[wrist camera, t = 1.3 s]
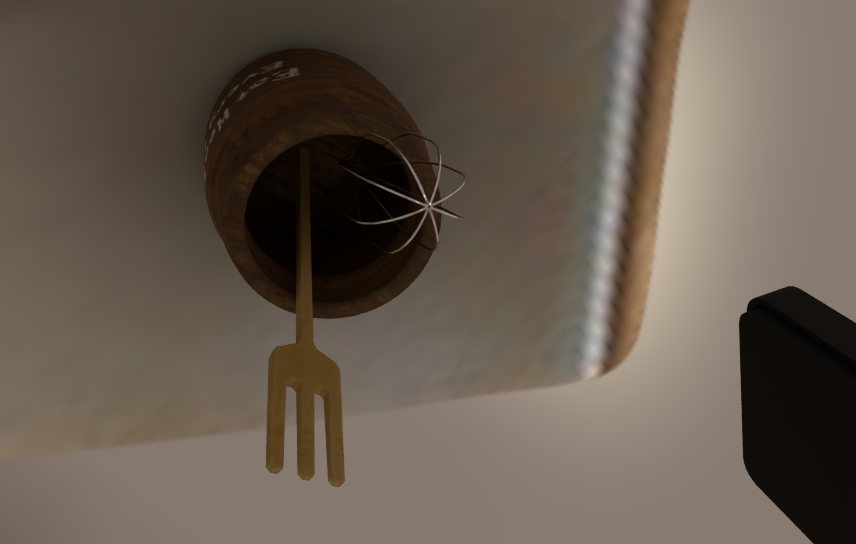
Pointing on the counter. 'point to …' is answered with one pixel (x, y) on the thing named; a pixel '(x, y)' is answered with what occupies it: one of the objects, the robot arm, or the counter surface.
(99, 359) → the counter surface
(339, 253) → the utensil holder
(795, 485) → the robot arm
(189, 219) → the counter surface
